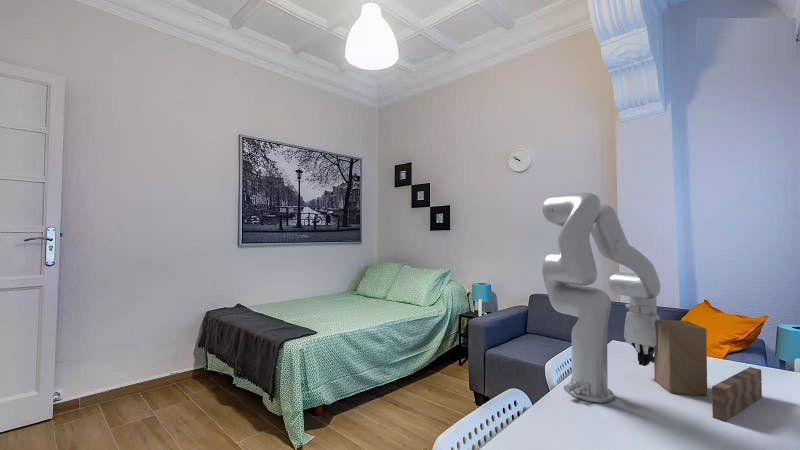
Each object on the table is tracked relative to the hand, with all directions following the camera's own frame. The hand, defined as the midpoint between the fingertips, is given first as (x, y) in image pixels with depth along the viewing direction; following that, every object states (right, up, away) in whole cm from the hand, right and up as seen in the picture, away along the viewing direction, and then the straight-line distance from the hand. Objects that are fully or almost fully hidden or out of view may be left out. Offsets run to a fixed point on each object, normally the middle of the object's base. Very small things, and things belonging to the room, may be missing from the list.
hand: (643, 364), depth 121 cm
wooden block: (+5, -4, -9) cm, 11 cm away
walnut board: (+12, -4, -21) cm, 24 cm away
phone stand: (+16, -5, +16) cm, 23 cm away
